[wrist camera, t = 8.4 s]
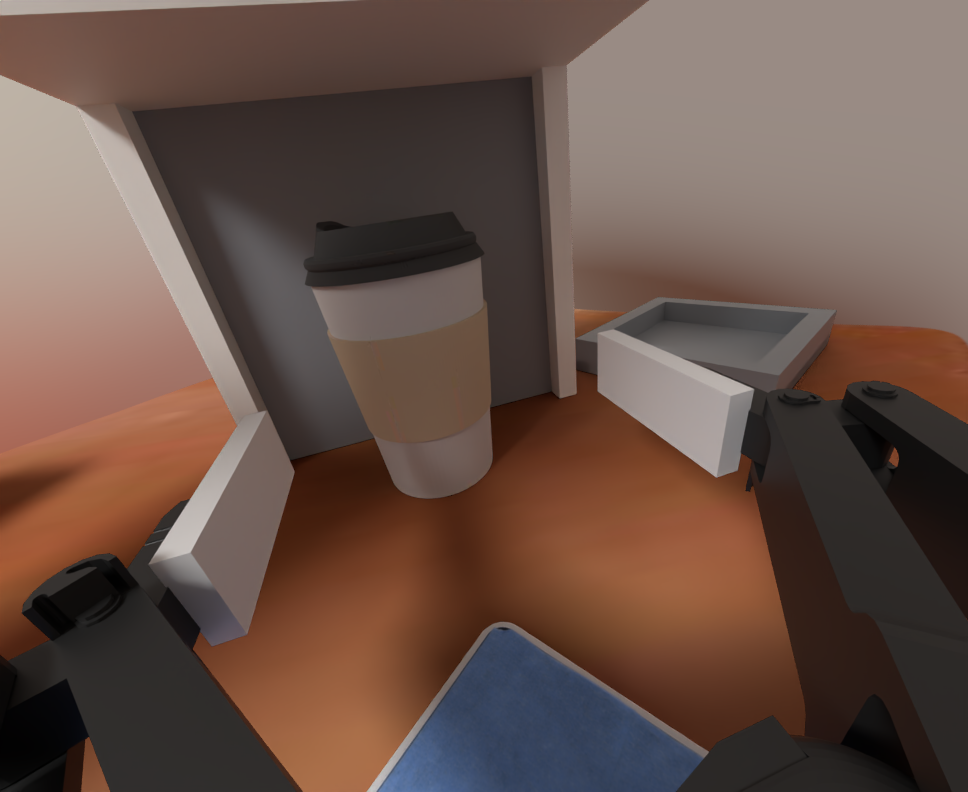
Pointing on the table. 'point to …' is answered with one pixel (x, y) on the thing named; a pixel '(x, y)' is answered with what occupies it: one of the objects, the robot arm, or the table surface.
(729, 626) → the table surface
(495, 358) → the cubby
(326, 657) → the table surface
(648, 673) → the table surface
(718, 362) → the tray
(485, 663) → the blue piece
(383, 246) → the coffee cup
